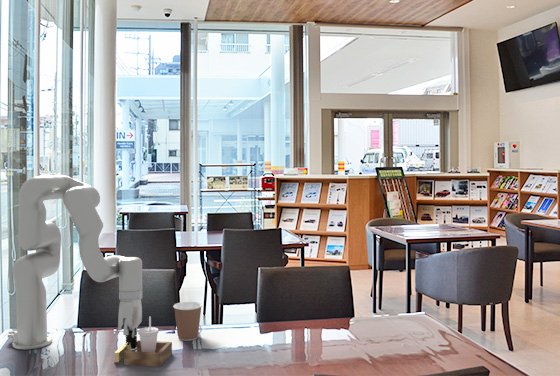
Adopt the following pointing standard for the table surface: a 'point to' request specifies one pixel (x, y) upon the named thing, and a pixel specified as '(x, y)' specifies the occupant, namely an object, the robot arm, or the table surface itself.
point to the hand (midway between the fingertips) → (131, 347)
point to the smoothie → (148, 338)
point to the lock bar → (122, 352)
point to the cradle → (148, 355)
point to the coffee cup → (187, 320)
